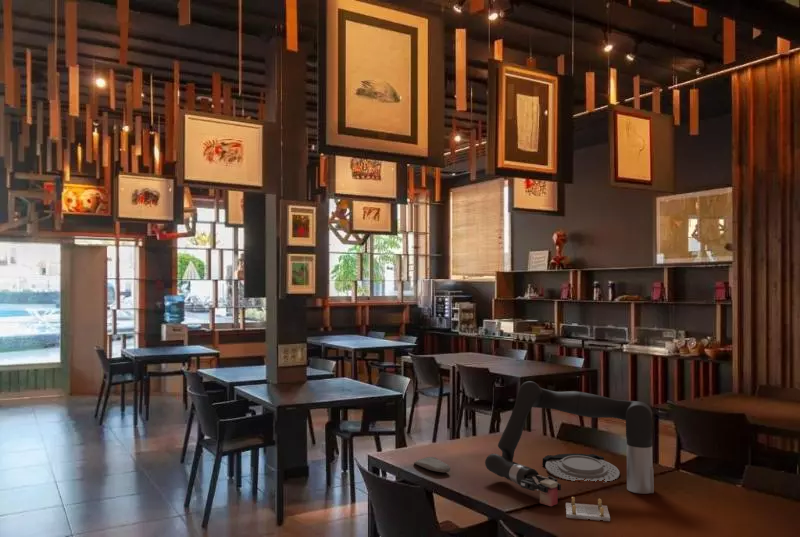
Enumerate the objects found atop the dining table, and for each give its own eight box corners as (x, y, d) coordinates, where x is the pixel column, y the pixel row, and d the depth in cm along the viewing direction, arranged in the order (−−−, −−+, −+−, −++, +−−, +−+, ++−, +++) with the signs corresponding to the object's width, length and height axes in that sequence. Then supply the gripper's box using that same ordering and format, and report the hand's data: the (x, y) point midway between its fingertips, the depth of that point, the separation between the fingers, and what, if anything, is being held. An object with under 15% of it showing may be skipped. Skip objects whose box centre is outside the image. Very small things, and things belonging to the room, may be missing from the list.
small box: (539, 503, 231) (539, 481, 231) (546, 500, 234) (545, 478, 234) (551, 507, 228) (551, 484, 228) (558, 504, 231) (558, 481, 231)
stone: (430, 462, 289) (409, 464, 285) (430, 454, 289) (409, 456, 285) (453, 474, 266) (431, 477, 263) (453, 465, 267) (431, 468, 263)
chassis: (607, 509, 226) (606, 498, 227) (610, 521, 215) (610, 510, 215) (565, 506, 230) (565, 495, 230) (566, 517, 218) (566, 506, 218)
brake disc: (539, 460, 290) (539, 450, 290) (607, 462, 288) (607, 451, 288) (552, 483, 258) (552, 471, 258) (628, 484, 256) (628, 472, 256)
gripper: (508, 468, 241) (537, 480, 226) (538, 463, 247) (569, 475, 232) (508, 488, 241) (537, 502, 225) (538, 483, 247) (569, 496, 232)
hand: (553, 488), depth 229 cm, fingers closed on small box, 5 cm apart
